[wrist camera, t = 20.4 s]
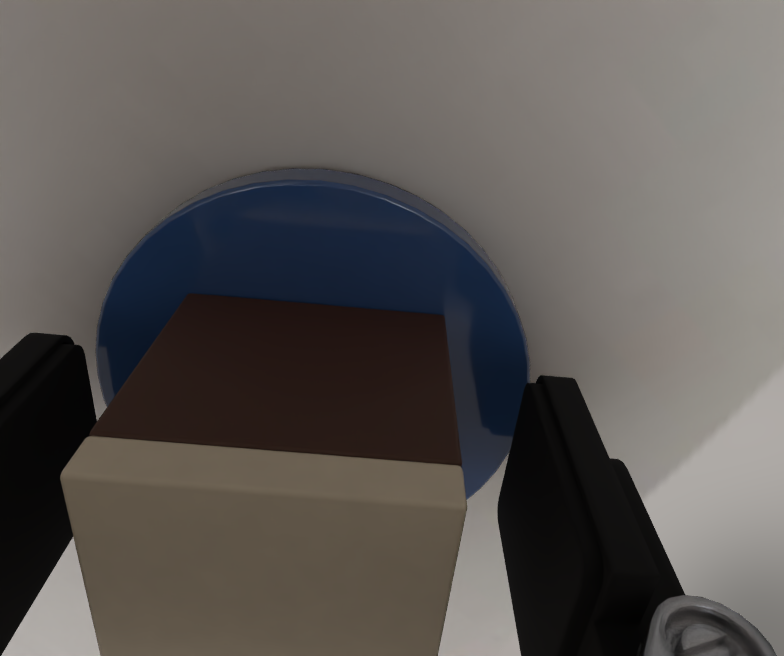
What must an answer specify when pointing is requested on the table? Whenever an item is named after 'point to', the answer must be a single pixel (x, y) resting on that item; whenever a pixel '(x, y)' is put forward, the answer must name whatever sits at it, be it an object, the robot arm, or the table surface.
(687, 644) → the robot arm
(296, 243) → the plate
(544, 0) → the table surface
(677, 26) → the table surface
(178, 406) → the two-tone brown cube
